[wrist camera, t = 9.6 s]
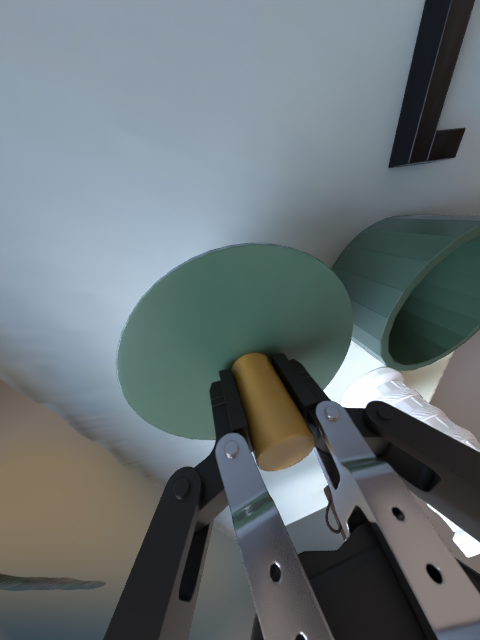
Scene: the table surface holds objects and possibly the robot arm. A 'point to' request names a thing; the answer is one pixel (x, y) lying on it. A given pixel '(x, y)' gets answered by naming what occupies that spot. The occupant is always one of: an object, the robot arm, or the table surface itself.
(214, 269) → the tin lid
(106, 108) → the table surface
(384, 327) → the tin
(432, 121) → the hex key
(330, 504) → the coffee mug
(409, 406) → the decorative container
